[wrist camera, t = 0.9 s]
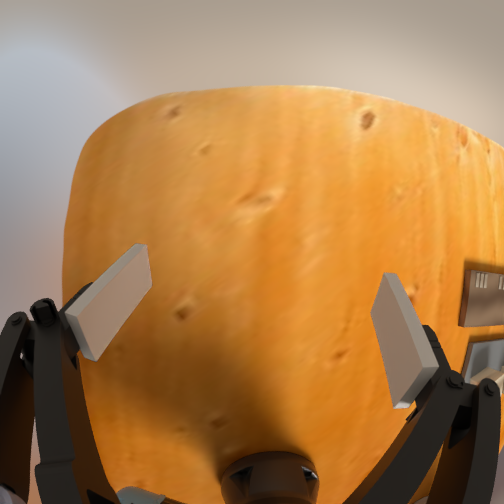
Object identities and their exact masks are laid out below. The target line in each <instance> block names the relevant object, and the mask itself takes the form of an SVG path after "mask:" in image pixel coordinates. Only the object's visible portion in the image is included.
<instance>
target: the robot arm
mask: <svg viewBox="0 0 504 504" xmlns="http://www.w3.org/2000/svg"><path fill="white" fill-rule="evenodd" d="M151 287H152V278H151V272H150V265H149V258H148V250H147V245H145V244H137V243H136V244H134V245H133V246H132V247H131V248H130V249H129V250H128V251H127V252H126V253H124V254H123V255H122V256H121V257H120V258H119V259H118V260H117V261H116V262H115V263H114V264H113V265H111V266H110V267H109V268H108V269H107V270H106V271H105V272H104V273H103V274H102V275H101V276H100V277H99V278H98V279H97V280H96V281H95V282H94V283H93V282H91V283H89V284H87V285H86V286H84V287H83V288H82V289H81V290H80V291H78V292H77V294H75V295H74V296H73V299H72V298H71V299H70V300H69V301H68V302H67V304H66V305H65V306H64V307H63V308H62V309H61V310H60V311H59V312H58V311H57V309H56V306H55V304H54V301H53V300H52V299H49V298H44V299H41V300H38V301H36V302H35V303H34V304H33V305H32V306H31V308H30V312H31V314H32V316H33V318H34V321H30V320H29V319H28V317H27V315H26V313H24V312H16V313H14V314H12V315H11V316H10V317H9V318H8V320H7V322H6V324H5V326H4V328H3V330H2V332H1V335H0V504H27V502H28V496H29V486H30V485H29V484H30V458H31V444H32V433H33V426H34V418H35V420H36V421H35V422H36V431H37V439H38V447H39V453H40V459H41V460H40V461H41V462H40V464H38V465H36V466H35V477H36V482H37V486H38V490H39V495H40V498H41V502H42V504H186V503H182V502H179V501H176V500H173V499H170V498H167V497H166V496H165V495H163V494H161V495H158V494H155V493H152V492H149V491H146V490H143V489H141V488H138V487H133V486H129V487H125V488H123V489H121V490H120V491H118V492H117V493H115V491H114V490H113V488H112V487H111V486H110V484H109V482H108V480H107V478H106V475H105V472H104V469H103V466H102V463H101V460H100V457H99V453H98V450H97V447H96V443H95V440H94V436H93V432H92V428H91V424H90V420H89V416H88V411H87V406H86V401H85V396H84V391H83V385H82V379H81V372H80V365H79V358H78V356H77V352H78V351H79V350H81V352H82V354H83V356H84V357H85V358H87V359H90V360H92V361H95V362H97V360H98V359H99V358H100V356H101V355H102V353H103V352H104V350H105V349H106V348H107V346H108V345H109V343H110V342H111V340H112V339H113V338H114V336H115V335H116V333H117V332H118V331H119V329H120V328H121V327H122V325H123V324H124V322H125V321H126V320H127V318H128V317H129V316H130V314H131V313H132V312H133V310H134V309H135V308H136V306H137V305H138V304H139V302H140V301H141V300H142V298H143V297H144V296H145V294H146V293H147V292H148V290H149V289H150V288H151ZM370 313H371V317H372V320H373V324H374V327H375V331H376V335H377V338H378V342H379V346H380V350H381V354H382V358H383V362H384V366H385V371H386V375H387V379H388V384H389V389H390V393H391V398H392V403H393V409H396V408H409V406H410V405H411V404H412V403H413V401H414V400H415V402H416V406H417V407H416V408H415V409H414V411H413V412H412V413H411V414H410V415H409V416H408V417H407V419H406V420H407V422H406V423H405V425H404V427H403V428H402V430H401V431H400V433H399V434H398V436H397V437H396V439H395V440H394V441H393V443H392V444H391V446H390V447H389V449H388V450H387V451H386V453H385V454H384V455H383V457H382V458H381V459H380V461H379V462H378V463H377V465H376V466H375V467H374V468H373V470H372V471H371V472H370V473H369V474H368V476H367V477H366V478H365V479H364V480H363V482H362V483H361V484H360V485H359V486H358V487H357V488H356V490H355V491H354V492H353V493H352V494H351V495H350V496H349V497H348V498H347V499H346V500H345V501H344V502H343V503H342V504H408V502H409V501H410V499H411V498H412V496H413V495H414V493H415V492H416V490H417V489H418V487H419V485H420V484H421V482H422V481H423V479H424V477H425V476H426V474H427V472H428V470H429V469H430V467H431V465H432V463H433V461H434V460H435V458H436V456H437V454H438V452H439V450H440V448H441V446H442V444H443V442H444V444H443V448H442V453H441V457H440V460H439V464H438V468H437V471H436V475H435V478H434V481H433V484H432V487H431V490H430V493H429V496H428V499H427V502H426V504H490V501H491V496H492V492H493V487H494V481H495V475H496V469H497V462H498V453H499V442H500V424H501V395H500V388H499V386H498V384H497V383H496V382H495V381H494V380H492V379H490V378H484V379H482V380H481V382H480V383H479V384H478V385H474V384H469V383H465V380H464V378H463V377H462V375H461V374H459V373H458V372H456V371H454V370H451V368H450V366H449V363H448V361H447V359H446V356H445V354H444V352H443V349H442V348H441V345H440V343H439V342H438V338H437V336H436V334H435V332H434V331H433V330H432V329H431V328H430V327H429V326H428V325H421V323H420V320H419V318H418V316H417V314H416V312H415V310H414V308H413V306H412V304H411V301H410V299H409V297H408V295H407V293H406V291H405V290H404V288H403V286H402V284H401V282H400V280H399V278H398V276H397V274H393V273H384V274H383V277H382V280H381V283H380V287H379V290H378V293H377V295H376V298H375V301H374V304H373V307H372V310H371V312H370ZM21 353H22V354H23V357H22V359H21V358H20V355H21ZM318 490H319V477H318V474H317V471H316V469H315V467H314V465H313V464H312V463H311V462H310V461H309V460H307V459H306V458H304V457H302V456H299V455H296V454H293V453H288V452H262V453H257V454H253V455H249V456H246V457H244V458H241V459H239V460H238V461H236V462H234V463H233V464H232V465H230V466H229V467H228V468H227V469H226V471H225V472H224V474H223V477H222V483H221V493H222V496H223V499H224V501H225V503H226V504H316V501H317V496H318Z"/></svg>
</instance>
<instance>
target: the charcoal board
mask: <svg viewBox="0 0 504 504" xmlns="http://www.w3.org/2000/svg"><path fill="white" fill-rule="evenodd" d="M502 366H504V338H502V339H495V340H487V341H479V342H469V346H468V350H467V354H466V358H465V362H464V366H463V370H462V373H461V375H462V377H463V378H464V380H465V383H469V384H470V379H471V378H472V377H474V376H475V375H476V374H478V373H479V372H481V371H482V370H483V369H485V368H486V367H489V368H492V369H494V370H497V371H501V368H502Z"/></svg>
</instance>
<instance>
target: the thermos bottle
mask: <svg viewBox="0 0 504 504" xmlns="http://www.w3.org/2000/svg"><path fill="white" fill-rule="evenodd" d="M427 499H428V496H426V497H424V498H422V499H420V500H418V501H417V502H415V503H414V504H426V502H427Z"/></svg>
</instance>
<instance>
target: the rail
mask: <svg viewBox="0 0 504 504" xmlns="http://www.w3.org/2000/svg"><path fill="white" fill-rule="evenodd" d="M495 325H504V275H502V274H496V273H489V272H482V271H476V270H465V281H464V291H463V299H462V306H461V313H460V319H459V325H458V326H461V327H479V326H495Z"/></svg>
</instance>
